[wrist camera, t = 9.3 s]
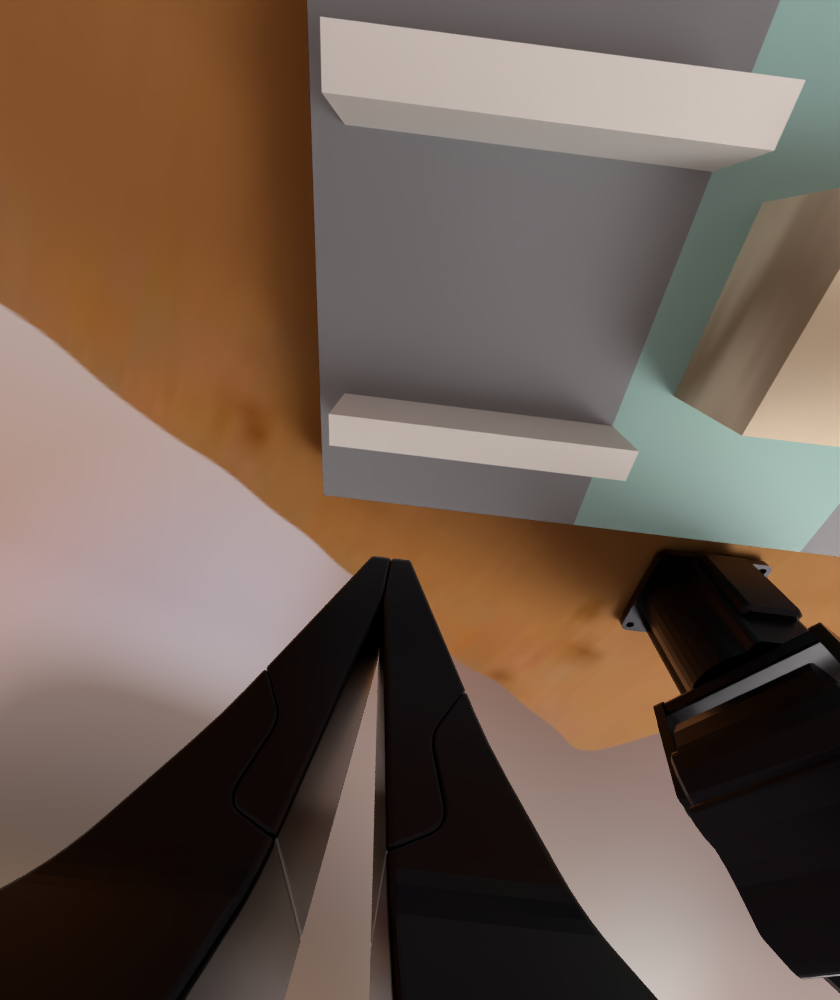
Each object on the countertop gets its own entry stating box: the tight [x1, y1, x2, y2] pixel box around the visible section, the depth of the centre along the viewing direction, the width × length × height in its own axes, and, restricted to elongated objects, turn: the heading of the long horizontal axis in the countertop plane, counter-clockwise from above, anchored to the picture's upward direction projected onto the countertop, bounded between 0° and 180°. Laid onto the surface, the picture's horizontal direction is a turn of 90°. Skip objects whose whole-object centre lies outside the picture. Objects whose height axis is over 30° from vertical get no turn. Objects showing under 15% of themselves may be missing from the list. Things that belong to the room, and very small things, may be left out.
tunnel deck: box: [307, 0, 840, 557], centre depth 14 cm, size 18×32×6 cm, turn 84°
